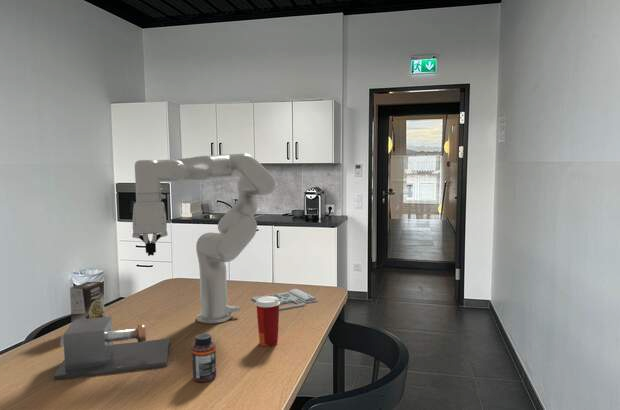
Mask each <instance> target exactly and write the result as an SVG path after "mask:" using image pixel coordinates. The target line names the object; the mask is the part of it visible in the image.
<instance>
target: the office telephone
mask: <svg viewBox="0 0 620 410" xmlns="http://www.w3.org/2000/svg"><path fill="white" fill-rule="evenodd" d="M266 296H273V297H277V298H278V299H279V301H280V304H279V312H281V311H283V310H284V311H285V310H290V309H296V308H301V307H305V306H307V305H308V304H313V303H317V302H319V299H318V298H316V297H314V296H312V295H310V294H308V293H307V292H305V291H302V290H300V289H298V288H293V289H290V290H289V291H286V292H280V293H279V292H278V293H273V294H267V295H266V294H264V295H259V296H253V297H251V300H252V301H253V302H255V303H256V301H257V299H258V298H261V297H266ZM290 303H294V304H292V305H287V306H281V307H280V305H284V304H285V305H286V304H290Z"/></svg>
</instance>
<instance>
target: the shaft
mask: <svg viewBox="0 0 620 410" xmlns="http://www.w3.org/2000/svg"><path fill="white" fill-rule="evenodd" d="M147 333H148V332H147V324H146V323H141V324H137V328H136V327H135V328H129V329H119V330H118V329H117V330H112V331H108V332H107V339H108V342H113V343H114V342H123V341H133V340H137V342H146V341H147ZM59 343H60V347H61V348H64V340H63V335H62V336H61V337H60V342H59Z"/></svg>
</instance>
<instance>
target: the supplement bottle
mask: <svg viewBox="0 0 620 410" xmlns="http://www.w3.org/2000/svg"><path fill="white" fill-rule="evenodd" d="M194 339H195V341H194V344H193V345H192V347H191V355H192V357H191V359H192V360H191V362H192V378H193V380H194V381H196V382H198V383H207V382H210V381H212V380H214V379H215V378H216V377H217V355H216V354H217V353H216V343H214V341H212V335H211V333H203V332H202V333H200V334H197V335H196V336H195V338H194Z"/></svg>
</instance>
